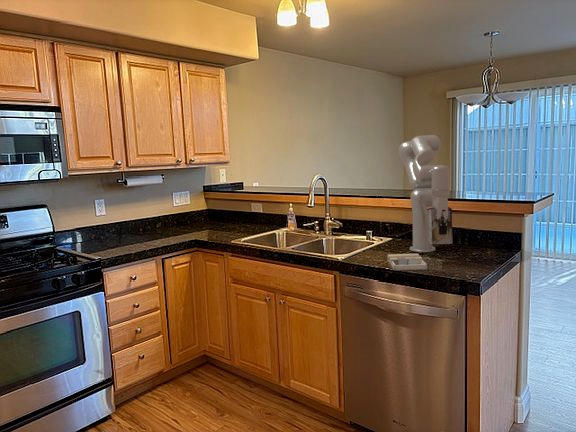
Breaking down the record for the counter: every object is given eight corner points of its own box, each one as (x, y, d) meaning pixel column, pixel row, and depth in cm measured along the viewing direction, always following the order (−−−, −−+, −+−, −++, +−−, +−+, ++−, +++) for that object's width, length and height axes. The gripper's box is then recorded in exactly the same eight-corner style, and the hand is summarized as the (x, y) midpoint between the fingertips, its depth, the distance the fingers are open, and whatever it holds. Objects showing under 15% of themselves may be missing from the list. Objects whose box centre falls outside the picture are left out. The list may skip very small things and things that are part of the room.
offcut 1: (397, 257, 198) (398, 259, 195) (405, 257, 198) (406, 259, 195) (397, 265, 199) (398, 267, 195) (405, 265, 199) (406, 267, 195)
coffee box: (449, 241, 204) (449, 206, 201) (452, 244, 197) (452, 208, 195) (428, 241, 205) (428, 207, 203) (431, 244, 199) (431, 209, 196)
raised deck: (387, 260, 210) (387, 254, 209) (417, 259, 209) (417, 253, 209) (391, 266, 200) (391, 259, 200) (422, 264, 199) (422, 258, 199)
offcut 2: (407, 257, 197) (408, 259, 194) (415, 257, 197) (416, 259, 193) (407, 265, 198) (408, 267, 194) (415, 265, 197) (416, 267, 194)
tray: (391, 266, 200) (391, 261, 200) (422, 264, 199) (422, 260, 199) (394, 270, 192) (394, 265, 192) (427, 269, 191) (427, 264, 191)
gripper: (427, 192, 207) (427, 230, 209) (437, 195, 190) (437, 236, 192) (443, 191, 206) (443, 229, 209) (455, 195, 189) (455, 236, 192)
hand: (440, 232), depth 200 cm, fingers closed on coffee box, 6 cm apart
